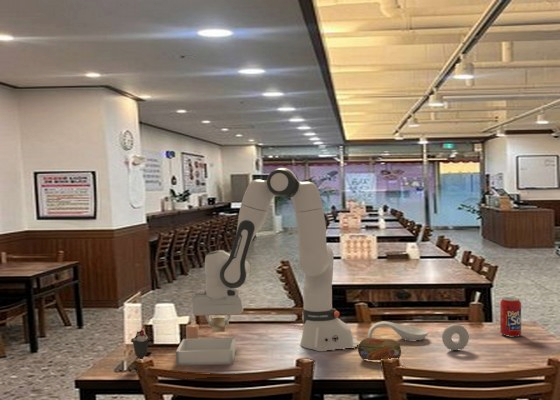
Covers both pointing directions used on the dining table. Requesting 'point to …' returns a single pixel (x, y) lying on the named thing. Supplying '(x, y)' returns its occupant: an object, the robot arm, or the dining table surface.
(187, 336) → the reddish brown block
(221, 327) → the birch cube
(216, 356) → the bus tub
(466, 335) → the donut
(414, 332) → the spoon rest
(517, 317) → the soda can
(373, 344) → the tin
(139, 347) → the sundae
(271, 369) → the dining table surface
